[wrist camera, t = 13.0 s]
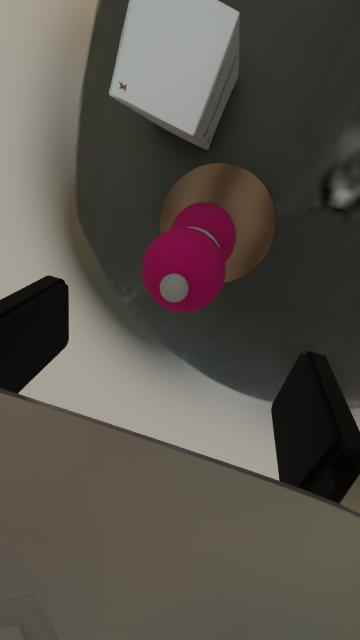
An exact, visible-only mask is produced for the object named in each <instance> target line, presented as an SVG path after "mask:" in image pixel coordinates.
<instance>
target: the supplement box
mask: <svg viewBox="0 0 360 640" xmlns="http://www.w3.org/2000/svg"><path fill="white" fill-rule="evenodd" d="M239 16H240V14H239V12H238V11H236V10H234V9H232V8H231V7H229V6H227V5H225V4H223V3H221V2H220V1H218V0H129V5H128V9H127V14H126V19H125V23H124V27H123V31H122V35H121V40H120V46H119V51H118V55H117V60H116V64H115V69H114V73H113V78H112V82H111V87H110V91H109V94H110V96H111V97H113V98H115V99H116V100H118V101H120V102H121V103H123V104H124V105H126V106H128V107H129V108H131V109H132V110H134V111H136V112H137V113H139V114H141V115H142V116H144V117H145V118H147V119H148V120H150V121H152V122H153V123H155V124H157V125H158V126H160V127H162V128H164V129H166V130H167V131H169V132H171V133H173V134H175V135H177V136H179V137H181V138H183V139H185V140H187V141H189V142H191V143H193V144H195V145H197V146H199V147H201V148H203V149H205V150H208V149H209V147H210V144H211V141H212V138H213V136H214V133H215V131H216V128H217V126H218V123H219V121H220V118H221V116H222V113H223V111H224V109H225V106H226V104H227V102H228V99H229V97H230V95H231V92H232V90H233V88H234V86H235V83H236V81H237V79H238V76H239Z"/></svg>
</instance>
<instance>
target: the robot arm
mask: <svg viewBox="0 0 360 640" xmlns="http://www.w3.org/2000/svg"><path fill="white" fill-rule="evenodd" d="M68 300H69V299H68V285H67V284H65V282H64V280H62V279H59V278H56V277H53V276H46V277H44V278H42V279H40V280H38V281H36V282H34V283H32V284H30V285H28V286H26V287H25V288H22V289H21V290H19V291H17V292H15V293H13V294H11V295H9V296H7V297H5V298H3V299H1V300H0V640H360V431H359V429H358V427H357V425H356V422H355V420H354V418H353V416H352V414H351V411H350V409H349V407H348V405H347V402H346V400H345V398H344V396H343V394H342V391H341V389H340V387H339V385H338V383H337V380H336V378H335V376H334V374H333V372H332V369H331V367H330V365H329V363H328V360H327V358H326V357H325V356H324V355H320V354H317V353H313V352H310V351H308V352H307V353H306V354H303V353H302V354H300V356H299V357H298V359H297V361H296V363H295V364H294V366H293V368H292V370H291V372H290V373H289V375H288V377H287V379H286V380H285V382H284V384H283V386H282V388H281V389H280V391H279V393H278V395H277V396H276V398H275V400H274V402H273V405H272V410H271V411H272V420H273V429H274V438H275V446H276V454H277V463H278V471H279V479H280V481H278V480H275V479H272V478H269V477H266V476H263V475H261V474H258V473H255V472H252V471H249V470H247V469H244V468H241V467H238V466H235V465H231V464H229V463H226V462H223V461H220V460H217V459H214V458H211V457H208V456H205V455H202V454H199V453H196V452H193V451H190V450H187V449H184V448H181V447H178V446H175V445H172V444H169V443H166V442H163V441H160V440H157V439H154V438H151V437H148V436H145V435H142V434H139V433H136V432H133V431H130V430H127V429H124V428H121V427H118V426H115V425H112V424H109V423H106V422H102V421H100V420H96V419H93V418H90V417H87V416H84V415H81V414H78V413H75V412H72V411H69V410H66V409H63V408H60V407H57V406H53V405H50V404H47V403H44V402H41V401H38V400H35V399H32V398H29V397H26V396H23V395H20V394H18V393H19V392H20V391H21V390H22V389H23V388H24V387H25V386H26V385H27V384H28V383H29V382H30V381H31V380H32V379H33V378H34V377H35V376H36V375H37V374H38V373H39V372H40V371H41V370H42V369H43V368H44V367H45V366H46V365H47V364H48V363H50V362H51V361H52V360H53V358H55V357H56V356H57V355H58V354H59V353H60V352H61V351H62V350H63V349H64V348H65V347H66V345H67V343H68V340H69V319H68V318H69V317H68V316H69V304H68V303H69V301H68Z"/></svg>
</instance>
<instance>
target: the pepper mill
mask: <svg viewBox="0 0 360 640" xmlns="http://www.w3.org/2000/svg"><path fill="white" fill-rule="evenodd" d="M235 242H236V230H235V225H234V223H233V220H232V219H231V217H230V216H229V214H228V213H227V212H226V211H225V210H224V209H222V208H221V207H219V206H217V205H215V204H212V203H207V202H200V203H195V204H192V205H190V206H188V207H186V208H184V209H183V210H182V211H181V212H180V213H179V214H178V215H177V217H176V218H175V220H174V222H173V223H172V226H171V228H170V230H168V231H166V232H164V233H162V234H161V235H160V236H158V237H157V238H156V239H155V240H154V241H153V242H152V243H151V244H150V246H149V247H148V249H147V251H146V253H145V256H144V259H143V263H142V276H143V281H144V285H145V287H146V289H147V291H148V292H149V294H150V295H151V297H152V298H153V299H154V300H155V301H156V302H157V303H158V304H160V305H161V306H163V307H164V308H166V309H169V310H171V311H175V312H182V313H186V312H193V311H196V310H199V309H201V308H203V307H205V306H207V305H208V304H209V303H211V302H212V301H213V300H214V299H215V298H216V296H217V295H218V294H219V292H220V290H221V288H222V286H223V283H224V279H225V274H226V267H225V262H226V261H227V260H228V259H229V257H230V256H231V254H232V252H233V249H234V246H235Z"/></svg>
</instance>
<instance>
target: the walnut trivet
mask: <svg viewBox="0 0 360 640" xmlns="http://www.w3.org/2000/svg"><path fill="white" fill-rule="evenodd" d="M200 202H207V203H212V204H215V205H217V206H219V207H221V208H222V209H224V210H225V211H226V212H227V213H228V214H229V216H230V217H231V219H232V220H233V223H234V225H235V230H236V242H235V246H234V249H233V252H232V254H231V256H230V257H229V259H228V260H227V261H226V262H225V267H226V274H225V279H224V283H225V282H230V281H233V280H236V279H238V278H241V277H243V276H244V275H246V274H248V273H249V272H250V271H252V270H253V269H254V268H255V267H256V266H257V265H258V264H259V263H260V262H261V261H262V260H263V258H264V257H265V255H266V254H267V252H268V250H269V248H270V246H271V244H272V241H273V237H274V233H275V225H276V217H275V209H274V205H273V202H272V199H271V196H270V194H269V192H268V191H267V189H266V187H265V186H264V185H263V183H262V182H261V181H260V180H259V179H258V178H257V177H256V176H255V175H253V174H252V173H251V172H249V171H248V170H246V169H244V168H242V167H239V166H236V165H233V164H227V163H212V164H207V165H203V166H200V167H198V168H195V169H193V170H191V171H190V172H188V173H187V174H185V175H184V176H183V177H182V178H180V179H179V180H178V181H177V182H176V184H175V185H174V186H173V187H172V189H171V190H170V192H169V193H168V195H167V197H166V199H165V202H164V204H163V207H162V211H161V216H160V234H162V233H164V232H166V231H168V230H170V228H171V226H172V223H173V222H174V220H175V218H176V217H177V215H178V214H179V213H180V212H181V211H182V210H183V209H184V208H186V207H188V206H190V205H192V204H195V203H200Z"/></svg>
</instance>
